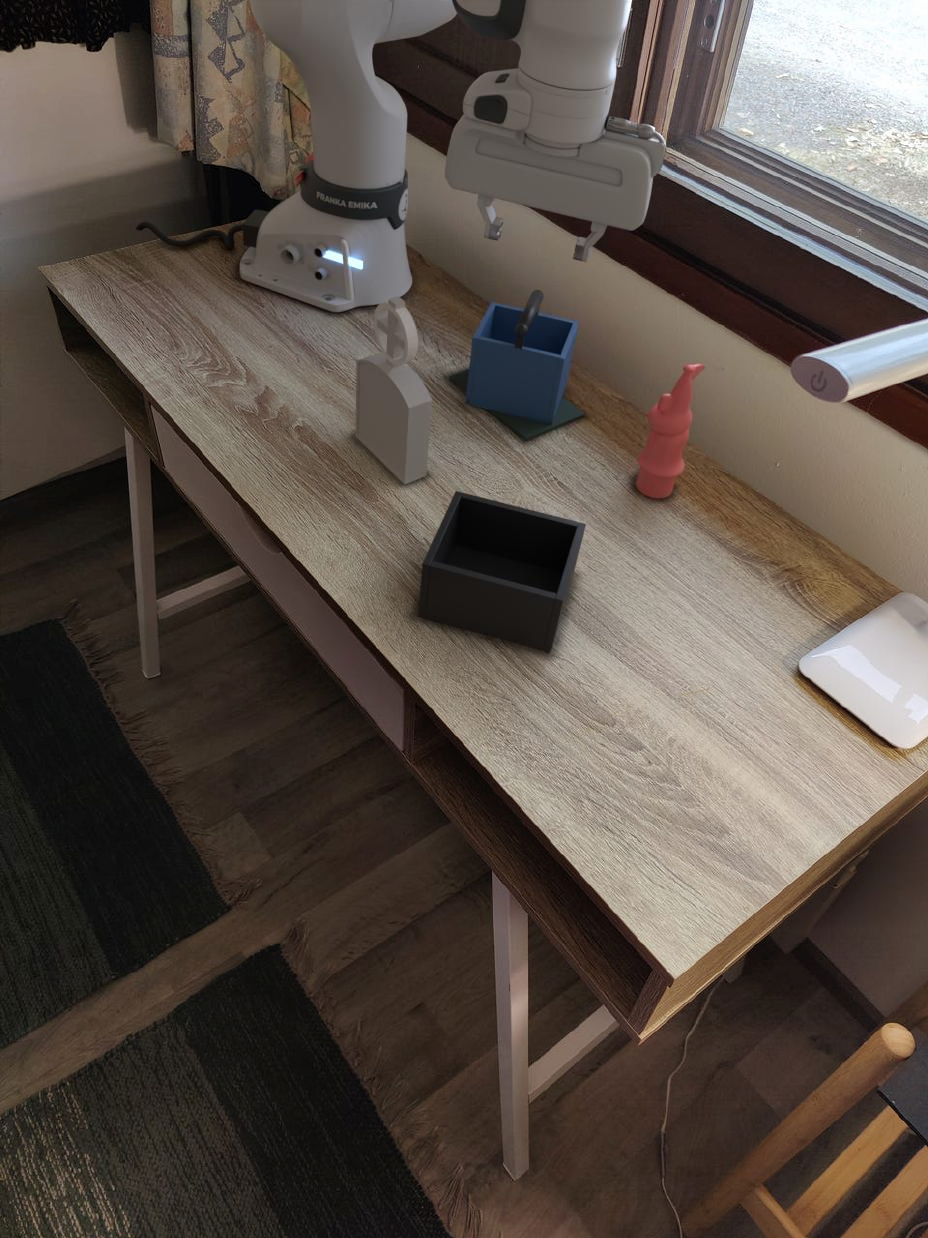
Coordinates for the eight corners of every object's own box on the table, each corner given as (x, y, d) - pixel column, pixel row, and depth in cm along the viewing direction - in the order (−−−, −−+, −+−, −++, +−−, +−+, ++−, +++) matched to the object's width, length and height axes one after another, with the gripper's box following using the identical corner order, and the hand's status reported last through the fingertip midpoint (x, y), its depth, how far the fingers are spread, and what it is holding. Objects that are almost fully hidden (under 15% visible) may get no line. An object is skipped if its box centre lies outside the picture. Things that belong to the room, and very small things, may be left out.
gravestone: (376, 428, 105) (381, 274, 91) (426, 475, 100) (438, 320, 87) (355, 436, 103) (357, 280, 90) (404, 484, 99) (413, 327, 85)
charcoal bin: (417, 616, 86) (422, 563, 81) (449, 543, 93) (455, 490, 88) (550, 652, 85) (563, 601, 80) (573, 575, 92) (586, 523, 87)
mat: (448, 378, 112) (449, 375, 112) (506, 357, 117) (507, 354, 116) (525, 441, 106) (526, 438, 105) (584, 416, 110) (585, 413, 110)
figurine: (648, 464, 105) (684, 343, 94) (686, 487, 103) (727, 366, 92) (620, 483, 102) (653, 360, 91) (658, 507, 100) (697, 385, 89)
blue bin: (464, 405, 108) (473, 316, 100) (484, 364, 114) (495, 277, 106) (551, 426, 107) (568, 337, 99) (566, 384, 113) (584, 297, 105)
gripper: (675, 117, 89) (639, 257, 99) (465, 70, 91) (451, 212, 101) (667, 142, 85) (630, 286, 95) (447, 93, 87) (434, 238, 97)
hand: (536, 247), depth 98 cm, fingers open, 8 cm apart
